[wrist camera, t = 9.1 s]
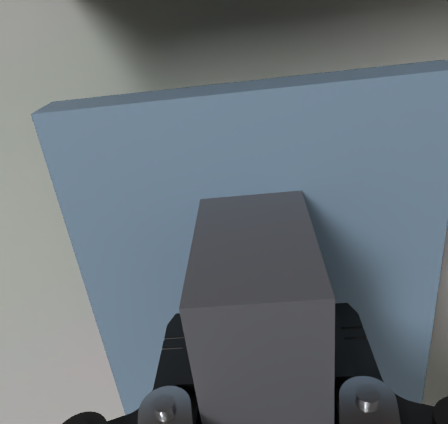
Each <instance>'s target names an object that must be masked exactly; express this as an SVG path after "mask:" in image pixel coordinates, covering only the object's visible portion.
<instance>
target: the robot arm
mask: <svg viewBox="0 0 448 424" xmlns="http://www.w3.org/2000/svg"><path fill="white" fill-rule="evenodd" d="M63 424H202V422H201V417H200V412H199V407H198V402H197V397H196V392H195V387H194V382H193V377H192V372H191V367H190V362H189V357H188V352H187V347H186V342H185V337H184V332H183V327H182V322H181V317H180V313H177V314H175V315H174V317H173V318H172V319H171V320H170V322H169V323H168V324H167V327H166V332H165V337H164V341H163V346H162V351H161V355H160V359H159V364H158V368H157V373H156V378H155V382H154V387H153V390H152V392H150V393H149V394H148V395H147V396H146V397H145V398H144V399H143V400H142V402H141V404H140V406H139V408H138V409H137V410H136V411H134V412H132V413H130V414H127V415H125V416H122V417H119V418H116V419H113V420H110V421H106V419H105V418H104V417H103V416H102V415H101V414H99V413H96V412H83V413H80V414H77V415H75V416H73V417H71V418H69V419H68V420H66V421H65V422H64V423H63ZM334 424H448V397H445V398H443V399H441V400H439V401H438V402H437V404H436V405H435V407H434V406H429V405H425V404H420V403H416V402H412V401H409V400H406V399H404V398H402V397H400V396H398V395H397V394H395V393H394V392H393V391H392V389H391V388H390V387H389V386H388V385H387V384H385V383H384V381H383V379H382V377H381V375H380V372H379V369H378V366H377V364H376V361H375V358H374V355H373V353H372V350H371V347H370V344H369V342H368V339H367V336H366V333H365V331H364V328H363V325H362V323H361V320H360V317H359V314H358V313H357V312H356V311H355V310H354V309H353V308H352V307H351V306H350V305H349V304H348V303H335V382H334Z"/></svg>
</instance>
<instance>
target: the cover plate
mask: <svg viewBox="0 0 448 424" xmlns="http://www.w3.org/2000/svg"><path fill="white" fill-rule="evenodd" d="M31 116H32V119H33V122H34V126H35V129H36V132H37V135H38V138H39V141H40V145H41V148H42V151H43V154H44V157H45V160H46V164H47V167H48V170H49V173H50V176H51V180H52V183H53V186H54V189H55V192H56V195H57V199H58V202H59V205H60V208H61V211H62V214H63V218H64V221H65V224H66V227H67V230H68V233H69V237H70V240H71V243H72V246H73V249H74V253H75V256H76V259H77V262H78V265H79V268H80V272H81V275H82V278H83V281H84V284H85V287H86V291H87V294H88V297H89V300H90V303H91V307H92V310H93V313H94V316H95V319H96V322H97V326H98V329H99V332H100V335H101V338H102V341H103V345H104V348H105V351H106V354H107V357H108V360H109V364H110V367H111V370H112V373H113V376H114V380H115V383H116V386H117V389H118V392H119V395H120V399H121V402H122V405H123V408H124V411H125V414H126V415H127V414H130V413H132V412H134V411H136V410H137V409H138V408H139V406H140V404H141V402H142V400H143V399H144V398H145V397H146V396H147V395H148V394H149V393H150V392H152V390H153V387H154V382H155V378H156V373H157V368H158V364H159V359H160V355H161V351H162V346H163V341H164V337H165V332H166V327H167V324H168V323H169V322H170V320H171V319H172V318H173V317H174V315H175V314H177V313H180V317H181V322H182V327H183V332H184V337H185V342H186V347H187V352H188V357H189V362H190V367H191V372H192V377H193V382H194V387H195V392H196V397H197V402H198V407H199V412H200V417H201V422H202V424H334V382H335V303H348V304H349V305H350V306H351V307H352V308H353V309H354V310H355V311H356V312H357V313H358V314H359V317H360V320H361V323H362V325H363V328H364V331H365V333H366V336H367V339H368V342H369V344H370V347H371V350H372V353H373V355H374V358H375V361H376V364H377V366H378V369H379V372H380V375H381V377H382V379H383V381H384V383H385V384H387V385H388V386H389V387H390V388H391V389H392V391H393V392H394V393H395V394H397V395H398V396H400V397H402V398H404V399H406V400H409V401H412V402H416V403H420V404H422V400H423V393H424V386H425V379H426V372H427V365H428V358H429V350H430V343H431V336H432V329H433V322H434V315H435V308H436V301H437V294H438V286H439V279H440V272H441V265H442V258H443V251H444V244H445V237H446V230H447V223H448V61H446V60H437V61H428V62H419V63H409V64H400V65H391V66H382V67H372V68H363V69H354V70H344V71H335V72H326V73H316V74H307V75H298V76H288V77H279V78H270V79H260V80H251V81H242V82H233V83H223V84H214V85H205V86H195V87H186V88H177V89H167V90H158V91H149V92H139V93H130V94H121V95H111V96H102V97H93V98H83V99H74V100H65V101H56V102H51V103H49V104H48V105H46V106H44V107H42V108H41V109H39V110H37V111H36V112H34V113H32V114H31Z"/></svg>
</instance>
